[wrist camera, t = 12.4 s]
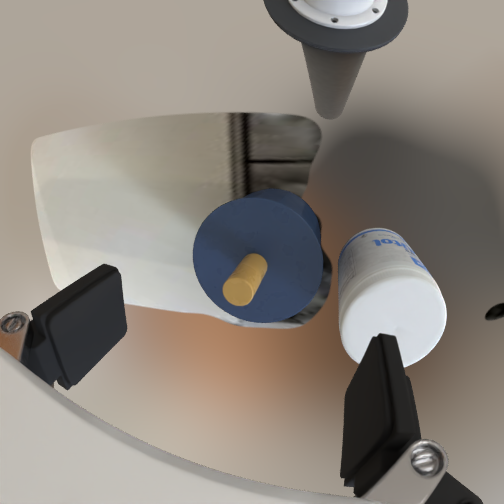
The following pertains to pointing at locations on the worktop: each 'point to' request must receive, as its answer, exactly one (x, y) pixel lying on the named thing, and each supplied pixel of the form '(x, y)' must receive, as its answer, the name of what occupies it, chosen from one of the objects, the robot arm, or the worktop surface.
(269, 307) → the lid
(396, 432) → the robot arm
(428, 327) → the supplement tub
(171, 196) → the worktop surface
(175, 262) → the worktop surface
